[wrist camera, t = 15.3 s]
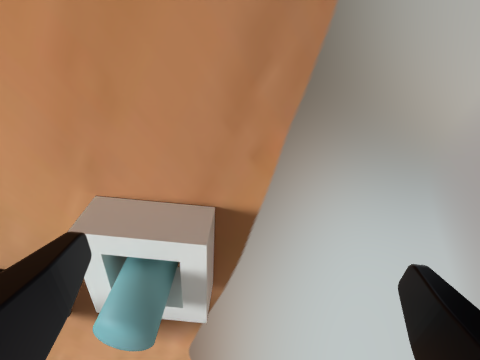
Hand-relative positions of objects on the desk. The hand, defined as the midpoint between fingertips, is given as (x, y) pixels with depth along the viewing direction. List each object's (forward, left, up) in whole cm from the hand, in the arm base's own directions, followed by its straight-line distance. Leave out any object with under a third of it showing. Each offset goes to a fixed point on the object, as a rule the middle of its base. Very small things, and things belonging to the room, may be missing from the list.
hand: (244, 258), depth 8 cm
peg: (-13, +7, -12) cm, 19 cm away
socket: (-13, +7, -12) cm, 19 cm away
